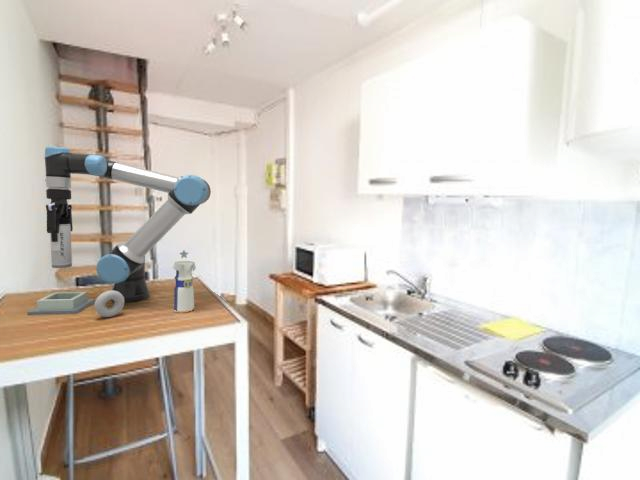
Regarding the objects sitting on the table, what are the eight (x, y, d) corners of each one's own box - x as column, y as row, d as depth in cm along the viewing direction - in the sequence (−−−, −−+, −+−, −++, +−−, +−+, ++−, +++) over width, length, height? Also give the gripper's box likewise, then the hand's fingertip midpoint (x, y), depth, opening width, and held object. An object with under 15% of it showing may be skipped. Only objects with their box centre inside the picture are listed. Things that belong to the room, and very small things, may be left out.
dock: (95, 301, 143) (95, 290, 143) (76, 313, 128) (76, 301, 127) (51, 302, 140) (51, 291, 139) (27, 314, 124) (26, 302, 124)
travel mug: (57, 265, 135) (55, 214, 133) (75, 265, 136) (73, 215, 134) (46, 267, 129) (44, 215, 127) (65, 268, 129) (63, 215, 127)
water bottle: (199, 310, 137) (200, 248, 135) (179, 314, 131) (178, 250, 128) (190, 305, 143) (190, 246, 140) (169, 309, 137) (169, 247, 134)
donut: (96, 321, 121) (96, 293, 120) (92, 319, 123) (92, 292, 122) (126, 314, 129) (126, 288, 128) (122, 312, 131) (121, 287, 130)
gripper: (60, 189, 138) (63, 245, 140) (31, 187, 119) (34, 252, 121) (81, 190, 139) (83, 246, 142) (56, 188, 121) (58, 252, 123)
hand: (61, 249), depth 131 cm, fingers closed on travel mug, 6 cm apart
